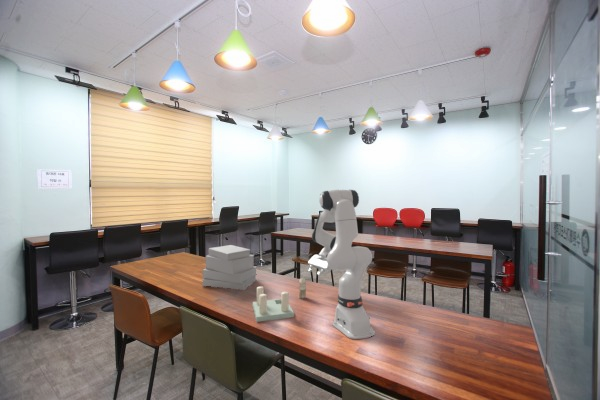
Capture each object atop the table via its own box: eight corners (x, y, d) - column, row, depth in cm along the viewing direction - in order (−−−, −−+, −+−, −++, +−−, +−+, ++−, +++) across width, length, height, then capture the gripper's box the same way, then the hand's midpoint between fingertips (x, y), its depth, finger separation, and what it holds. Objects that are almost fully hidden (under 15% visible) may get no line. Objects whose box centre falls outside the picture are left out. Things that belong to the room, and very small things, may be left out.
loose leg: (306, 298, 168) (306, 279, 168) (300, 299, 167) (300, 280, 166) (304, 296, 172) (304, 277, 171) (298, 297, 171) (298, 278, 170)
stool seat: (293, 317, 143) (293, 295, 143) (256, 321, 137) (256, 299, 137) (285, 302, 162) (285, 282, 162) (252, 306, 157) (252, 286, 156)
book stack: (243, 292, 178) (243, 254, 178) (197, 288, 186) (197, 251, 186) (260, 278, 207) (260, 246, 207) (219, 275, 215) (219, 243, 215)
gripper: (313, 251, 187) (301, 267, 181) (332, 256, 170) (321, 274, 165) (317, 256, 190) (306, 272, 184) (337, 262, 173) (326, 280, 167)
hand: (313, 273), depth 174 cm, fingers open, 8 cm apart
